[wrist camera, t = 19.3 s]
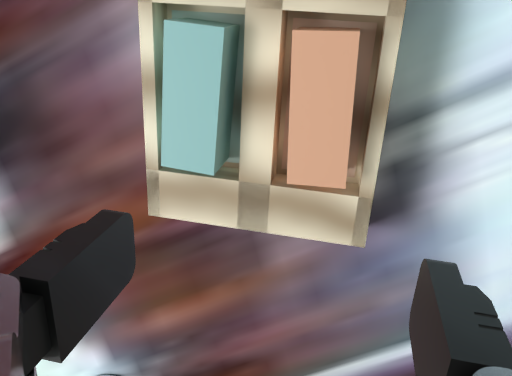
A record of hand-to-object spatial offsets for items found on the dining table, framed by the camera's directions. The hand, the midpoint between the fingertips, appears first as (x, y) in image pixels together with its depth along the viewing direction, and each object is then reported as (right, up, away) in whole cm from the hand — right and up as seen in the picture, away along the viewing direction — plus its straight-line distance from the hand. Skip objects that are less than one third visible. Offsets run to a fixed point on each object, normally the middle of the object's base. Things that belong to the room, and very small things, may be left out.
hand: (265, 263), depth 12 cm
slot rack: (+1, +9, +22) cm, 24 cm away
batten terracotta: (+5, +8, +20) cm, 22 cm away
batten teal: (-4, +9, +21) cm, 24 cm away
